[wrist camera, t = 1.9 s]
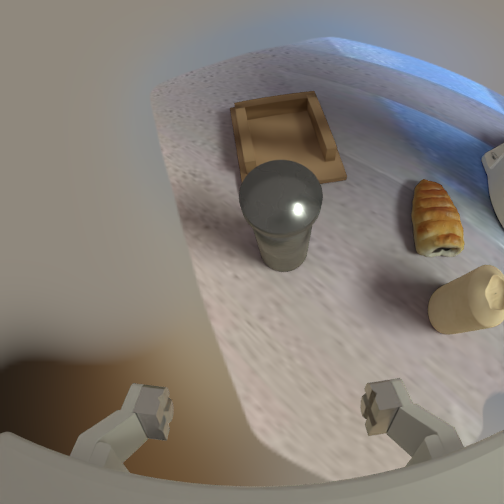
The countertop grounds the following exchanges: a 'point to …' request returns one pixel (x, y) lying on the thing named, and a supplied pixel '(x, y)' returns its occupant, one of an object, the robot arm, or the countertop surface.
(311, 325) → the countertop surface
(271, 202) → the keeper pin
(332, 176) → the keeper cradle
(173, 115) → the countertop surface
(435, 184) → the pastry
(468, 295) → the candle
